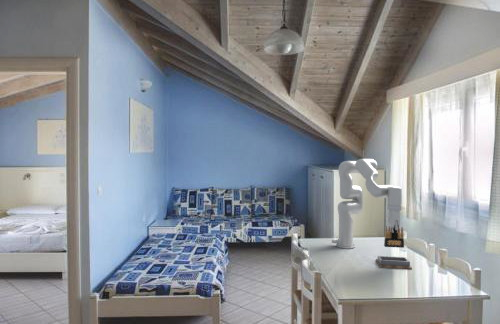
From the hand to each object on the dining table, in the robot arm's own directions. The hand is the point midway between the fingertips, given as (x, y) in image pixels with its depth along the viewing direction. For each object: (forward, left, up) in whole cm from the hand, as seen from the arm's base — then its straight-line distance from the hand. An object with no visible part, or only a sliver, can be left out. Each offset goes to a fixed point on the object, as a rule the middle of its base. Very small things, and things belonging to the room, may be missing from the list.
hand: (394, 238), depth 214 cm
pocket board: (0, 0, -15) cm, 15 cm away
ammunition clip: (0, 0, -5) cm, 5 cm away
